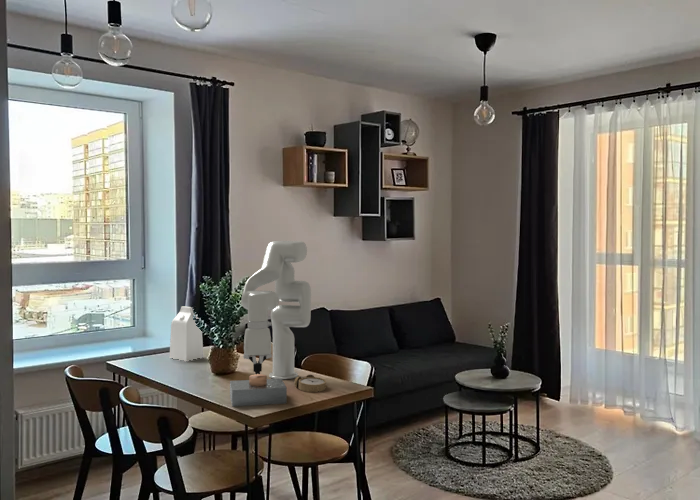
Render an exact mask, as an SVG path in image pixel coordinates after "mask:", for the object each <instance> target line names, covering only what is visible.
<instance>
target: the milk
mask: <svg viewBox="0 0 700 500" xmlns="http://www.w3.org/2000/svg"><path fill="white" fill-rule="evenodd" d="M194 314H195V313H194V310H193V307H191V306H186V305H185V306H180V309H179V312H178V313H177V315H176V316H175V317H174V318H173V319H172V320H171V325H170V339H169V340H170V343H169V358H173V359H179V360H178V361H180V360H184V361H183V362H186V361H187V362H190V361H189V360H191V361H194V360H193V359H196V360H198V359H197V358H200V359H203V358H204V344H203V343H204V342H203V330H202V331H201V330H200V329H199V328H198V327H197V326H196V323H195V320H193V315H194ZM195 316H196V319H200V318H199V317H198V316H197V315H196V314H195ZM202 357H203V358H202ZM173 359H172V360H173Z"/></svg>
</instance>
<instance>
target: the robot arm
mask: <svg viewBox="0 0 700 500" xmlns="http://www.w3.org/2000/svg"><path fill="white" fill-rule="evenodd" d="M307 254H308V247H307V245H306V243H305V242H304V241H302V240H275V241H271V242H269V243H268V244H267V246H266V248H265V252H264V256H263V260H262V263H261V265H260V266H261V267H260V269H259V270H257V271H256V272H254V274H252V276H250V277H249V278H248V279H247V280H246V282H245V284H244V287H243V290H242V294H241V299H240V300H241V306H242V308H244V309H245V310H247V328H245V331H244V336H243V337H244V339H243V352H244V353H243V356H242V357H243V359H244V360H249V361H251V362H252V364H253V369H252V371H253V373H255V374H254V375H256V374H261V372H262V370H263V368H262V367H263V362H264V361H266V360H267V359H271V358H272V371H271V372H270V373H269V374H268V376H269V379H282V380H292V379H296V378H297V377H299V374H298V372H296V371H295V334H294V333H293V331H292V330H291V329H290V328H307V327H308V326H309V325H310V323H311V317H312V316H311V314H312V313H311V312H312V310H311V309H312V289H311V285H310V283H309V282H308V281H306V280H296V279H295V268H294V265H293V263H301V262H302V261H304V260H305V259H306V257H307ZM272 282H274V291H273V290H272V291H271V290H257V289H258V288H260V287H262V286H263V285H267V284H270V283H272ZM279 302H281V303H298V304H299V305H291V304H280V305H279ZM269 311H270V321H269V317H268V316H269ZM270 326H271V328H272V337H271V330H270V328H269V327H270ZM257 356H259V357H258V361H257V359H256V358H257Z"/></svg>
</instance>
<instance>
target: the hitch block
mask: <svg viewBox="0 0 700 500" xmlns="http://www.w3.org/2000/svg"><path fill="white" fill-rule="evenodd" d="M287 391H288V390H287V386H286V383H284V380H283V379H273V378H267V384H266V385H264V386H251V385H249V379H246V380H244V379H243V380H230V381H229V398H230V402H231V406H232V407H233V408H234V407H246V406H247V407H248V406H262V405H265V406H266V405H279V404H282V405H284V404H287Z"/></svg>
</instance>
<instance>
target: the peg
mask: <svg viewBox="0 0 700 500" xmlns="http://www.w3.org/2000/svg"><path fill="white" fill-rule="evenodd" d="M248 378H249V379H248V380H249V385H251V386H264V385H266V384H267V379H268V375H267V374H262V373H260V374H251V375H249V377H248Z"/></svg>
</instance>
